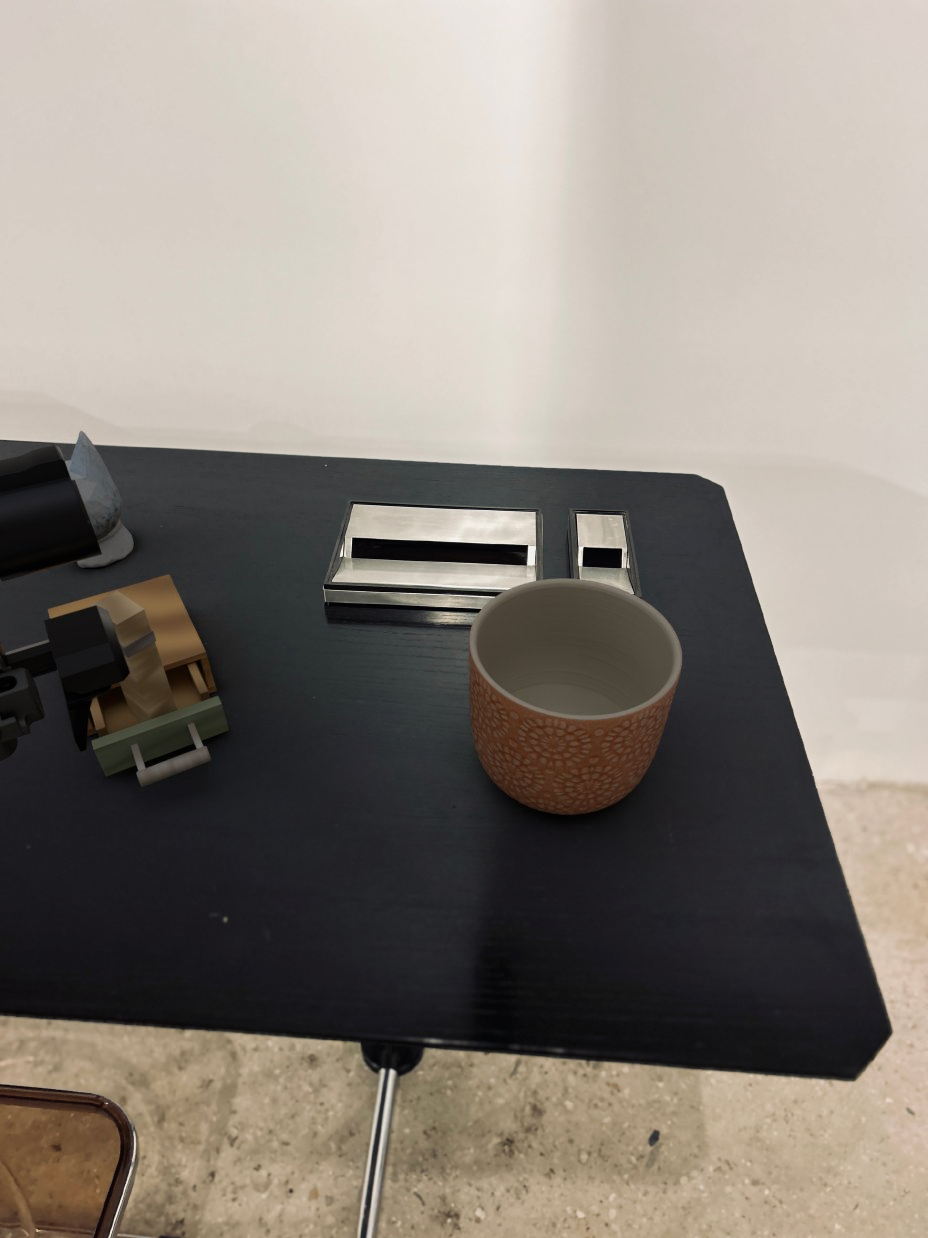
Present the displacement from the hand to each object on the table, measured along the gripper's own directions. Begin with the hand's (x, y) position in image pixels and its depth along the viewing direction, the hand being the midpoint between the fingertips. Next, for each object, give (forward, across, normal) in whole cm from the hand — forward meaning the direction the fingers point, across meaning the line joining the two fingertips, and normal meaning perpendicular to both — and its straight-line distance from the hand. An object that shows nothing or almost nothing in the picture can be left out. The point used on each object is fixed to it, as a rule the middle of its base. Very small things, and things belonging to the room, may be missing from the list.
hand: (13, 772), depth 55 cm
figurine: (+13, +10, +46) cm, 49 cm away
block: (+11, +10, +12) cm, 19 cm away
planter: (+13, +41, -10) cm, 44 cm away
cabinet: (+13, +10, +22) cm, 27 cm away
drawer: (+12, +10, +12) cm, 20 cm away
